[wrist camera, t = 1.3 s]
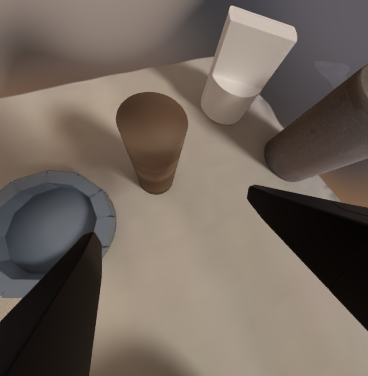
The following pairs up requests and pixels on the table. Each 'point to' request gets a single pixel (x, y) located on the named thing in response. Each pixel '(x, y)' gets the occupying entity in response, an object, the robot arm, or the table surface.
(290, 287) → the table surface
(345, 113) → the pillar candle
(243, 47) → the cylinder with rectangular tab
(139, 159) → the brown tapered cylinder
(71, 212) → the ceramic ring dish
